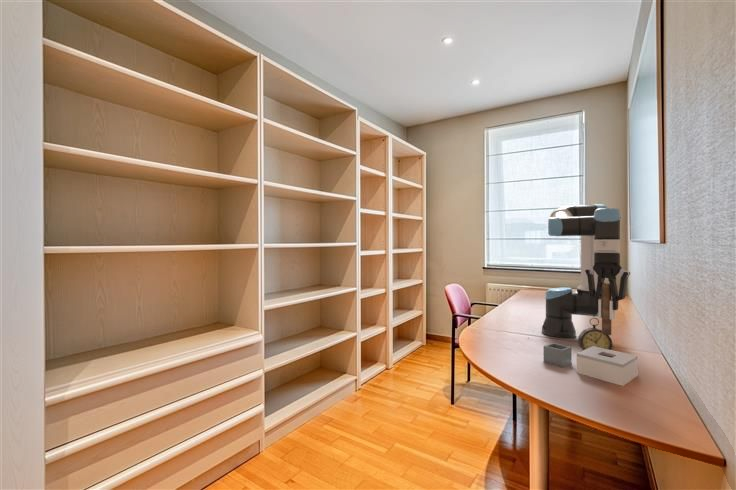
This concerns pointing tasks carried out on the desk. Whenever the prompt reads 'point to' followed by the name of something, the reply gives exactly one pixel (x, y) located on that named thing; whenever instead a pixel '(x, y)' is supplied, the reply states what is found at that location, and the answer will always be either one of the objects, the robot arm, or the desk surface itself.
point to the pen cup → (557, 354)
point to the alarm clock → (594, 338)
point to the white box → (607, 365)
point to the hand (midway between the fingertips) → (606, 318)
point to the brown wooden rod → (606, 309)
